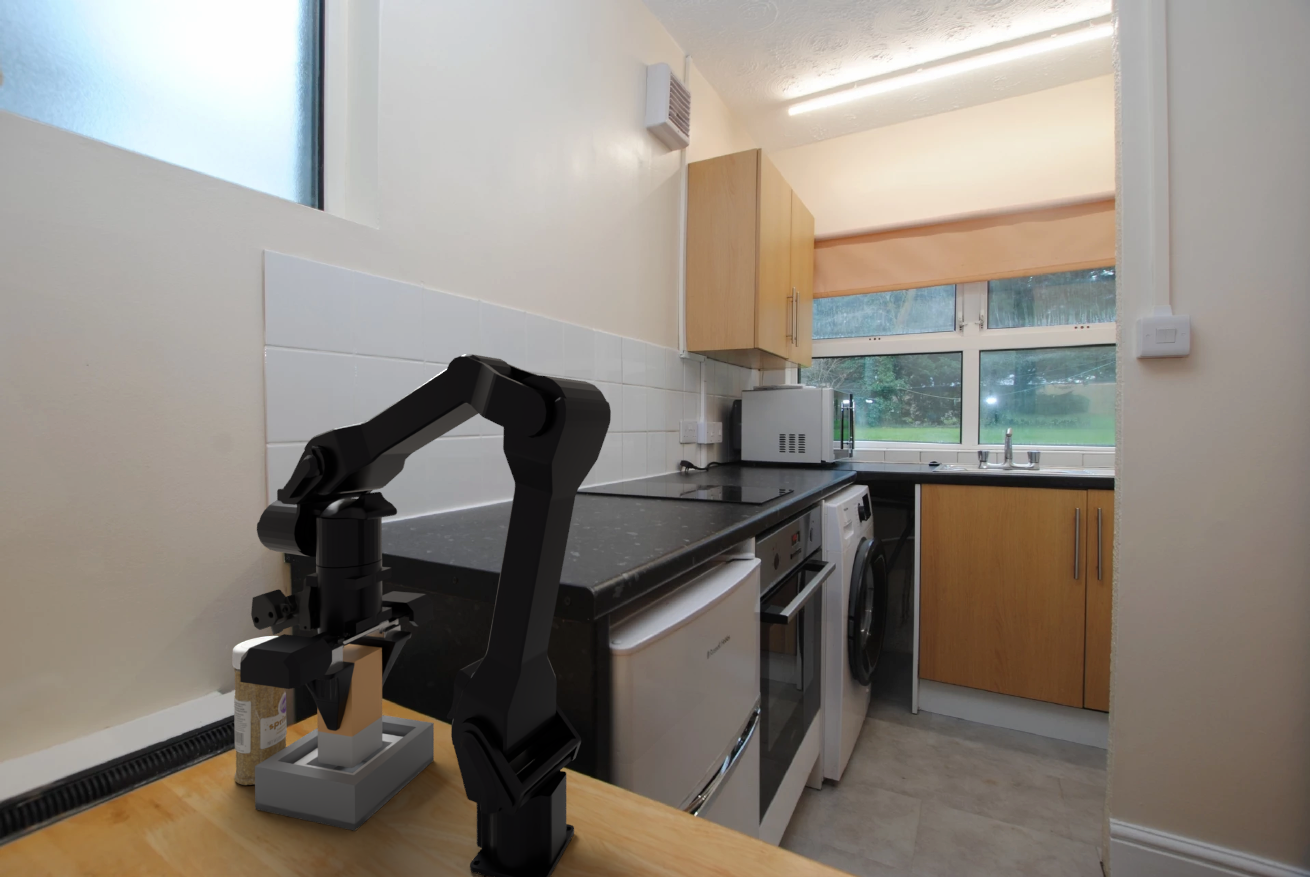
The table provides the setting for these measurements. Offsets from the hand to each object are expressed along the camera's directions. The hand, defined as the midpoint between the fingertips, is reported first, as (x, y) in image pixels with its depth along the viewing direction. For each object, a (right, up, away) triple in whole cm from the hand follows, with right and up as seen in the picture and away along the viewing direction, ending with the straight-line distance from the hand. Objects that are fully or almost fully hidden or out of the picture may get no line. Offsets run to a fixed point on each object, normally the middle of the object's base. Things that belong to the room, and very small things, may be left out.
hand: (350, 718), depth 57 cm
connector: (0, -4, 0) cm, 4 cm away
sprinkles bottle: (-10, -7, +2) cm, 12 cm away
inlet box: (0, -7, 0) cm, 7 cm away
